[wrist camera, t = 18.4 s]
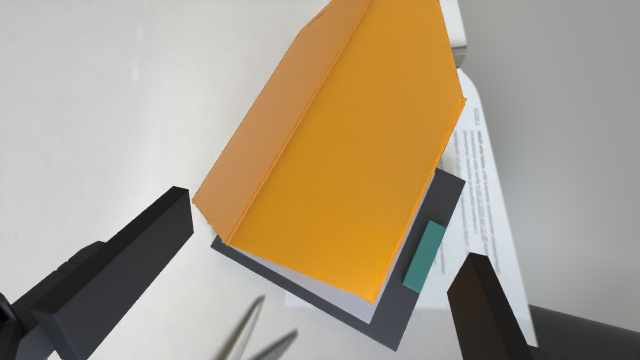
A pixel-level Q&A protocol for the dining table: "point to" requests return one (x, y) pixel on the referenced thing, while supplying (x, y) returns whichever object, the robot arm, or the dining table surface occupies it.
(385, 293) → the scale
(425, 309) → the dining table surface
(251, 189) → the orange juice
